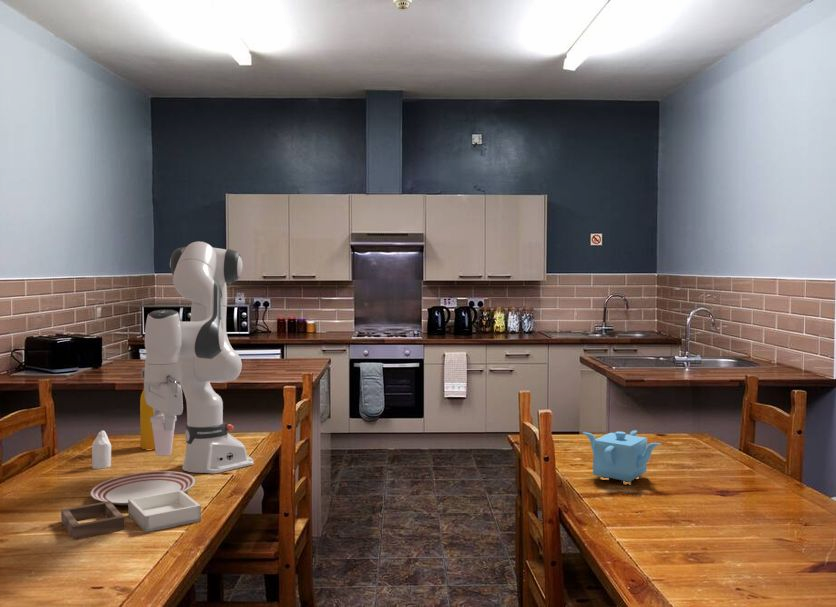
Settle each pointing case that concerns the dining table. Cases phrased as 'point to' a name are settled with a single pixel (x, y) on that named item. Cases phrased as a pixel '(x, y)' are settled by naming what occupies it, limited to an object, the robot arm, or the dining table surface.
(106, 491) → the dinner plate
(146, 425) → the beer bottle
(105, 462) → the white tapered bottle
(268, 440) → the dining table surface
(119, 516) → the socket block
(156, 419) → the smoothie
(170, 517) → the tray
